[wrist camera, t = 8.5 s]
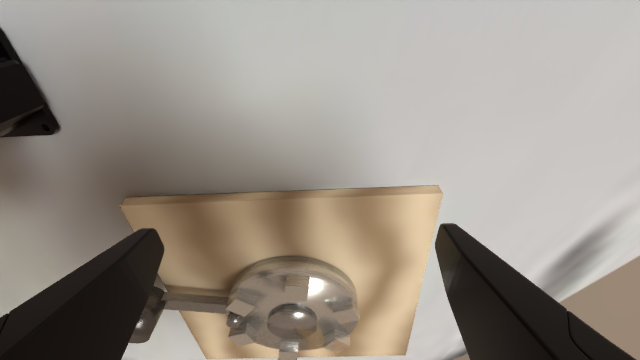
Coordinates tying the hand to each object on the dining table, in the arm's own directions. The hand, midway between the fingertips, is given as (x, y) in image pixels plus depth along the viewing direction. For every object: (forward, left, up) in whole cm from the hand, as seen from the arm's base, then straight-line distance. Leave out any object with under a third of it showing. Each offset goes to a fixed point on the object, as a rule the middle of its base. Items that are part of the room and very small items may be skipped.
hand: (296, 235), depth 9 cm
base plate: (-6, -18, -11) cm, 22 cm away
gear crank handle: (-7, -18, -10) cm, 21 cm away
